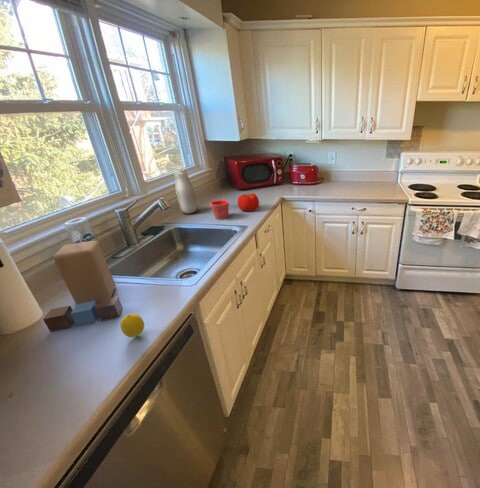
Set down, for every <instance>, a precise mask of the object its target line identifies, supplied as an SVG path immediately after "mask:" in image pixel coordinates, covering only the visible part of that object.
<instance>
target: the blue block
mask: <svg viewBox="0 0 480 488" xmlns="http://www.w3.org/2000/svg"><path fill="white" fill-rule="evenodd" d="M97 305H98V303H96V301H90V302H85V303H80V304H77V305H76V304H75V306H74V308H73V309H72V310H73V311H72V312H71V315H72V317H73V319H74V323H75V325H76V327H79V326H83V325H84V326H85V325H89V324H93V323H97V322H98V319H99V318H100V317H99V315H98V313H97V311H96V309H95V308H96V307H97Z"/></svg>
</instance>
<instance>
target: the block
mask: <svg viewBox="0 0 480 488" xmlns="http://www.w3.org/2000/svg"><path fill="white" fill-rule="evenodd" d="M53 260H54V262H55V264H56V267H57V268H58V270H59V273H60V275H61V277H62V279H63V281H64V283H65V286H66V287H67V289H68V291H69V293H70V295H71V297H72V300H73V301H74V304H75V306H76V305H77V304H80V303H85V302H90V301H96V303H97V304H98V303H99V301H100V300H101V299H106V298H111V297H113V294H114V292H115V289H116V283H115V280H114V278H113V275H112V273H111V270H110V268H109V266H108V263H107V259H106V257H105V255H104V252H103V250H102V248H101V245H100V243H99V241H98V240H89V241H82V242H74V243H69V244H68V243H67V244H64V245H62V247H60V249H59V250H58V251H57V252H56V253H55V254H54V255H53Z"/></svg>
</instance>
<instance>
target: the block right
mask: <svg viewBox="0 0 480 488" xmlns="http://www.w3.org/2000/svg"><path fill="white" fill-rule="evenodd" d="M95 309H96V311H97V313H98V315H99V317H98V318H99V319H100V321H101V322H103V321H108V320H112V319H117V318H120V316H121V314H122V311H123V309H124V308H123V305H122V303H121V300H120V297H119V296H118V295H117V296H112V297H111V298H106V299H101V300H100V301H99V302H98V303H97V307H96V308H95Z"/></svg>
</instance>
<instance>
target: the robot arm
mask: <svg viewBox="0 0 480 488" xmlns="http://www.w3.org/2000/svg"><path fill="white" fill-rule="evenodd" d="M4 266H5V265H4V263H3V261H2V260H1V258H0V268H1V269H2V268H3V267H4Z"/></svg>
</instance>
